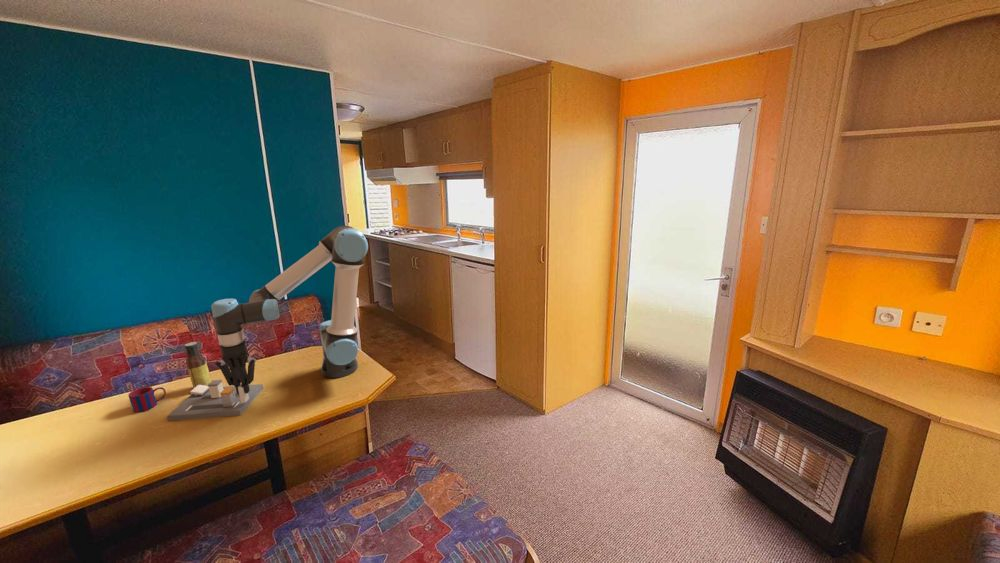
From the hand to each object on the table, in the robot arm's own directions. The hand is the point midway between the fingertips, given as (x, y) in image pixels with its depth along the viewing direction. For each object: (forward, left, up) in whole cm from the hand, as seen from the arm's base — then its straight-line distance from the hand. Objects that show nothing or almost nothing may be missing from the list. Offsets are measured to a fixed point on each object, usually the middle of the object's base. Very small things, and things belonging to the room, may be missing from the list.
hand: (245, 400), depth 142 cm
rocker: (+22, -11, -2) cm, 24 cm away
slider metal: (+5, 0, -1) cm, 6 cm away
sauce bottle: (+25, -18, -4) cm, 31 cm away
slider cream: (+13, -7, -1) cm, 15 cm away
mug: (+37, -7, -4) cm, 38 cm away
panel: (+12, -5, -4) cm, 14 cm away
